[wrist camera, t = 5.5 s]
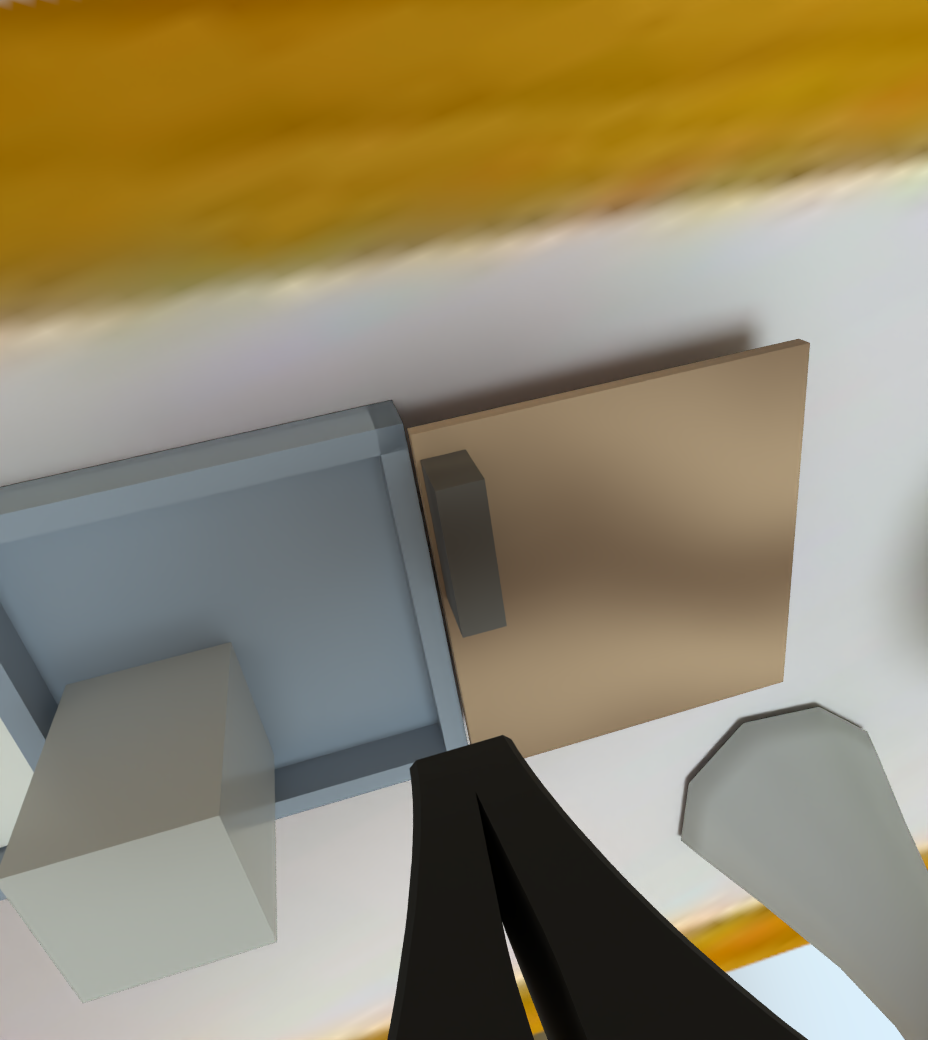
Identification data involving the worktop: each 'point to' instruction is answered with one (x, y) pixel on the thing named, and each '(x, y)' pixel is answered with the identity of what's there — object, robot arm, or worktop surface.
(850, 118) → the worktop surface
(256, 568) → the tray
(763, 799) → the flask
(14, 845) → the block
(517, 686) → the door
